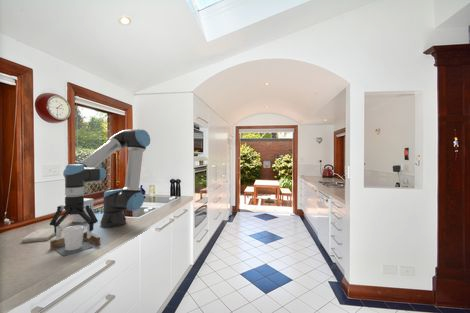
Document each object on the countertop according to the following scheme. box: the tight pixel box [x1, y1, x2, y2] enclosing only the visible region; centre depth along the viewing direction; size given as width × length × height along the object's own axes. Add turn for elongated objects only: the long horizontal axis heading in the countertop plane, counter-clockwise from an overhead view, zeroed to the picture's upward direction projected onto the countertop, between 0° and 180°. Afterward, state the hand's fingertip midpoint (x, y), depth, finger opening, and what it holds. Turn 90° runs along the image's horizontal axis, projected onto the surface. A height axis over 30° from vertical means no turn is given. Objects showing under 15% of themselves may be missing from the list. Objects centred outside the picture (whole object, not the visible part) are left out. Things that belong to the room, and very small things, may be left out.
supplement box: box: [71, 197, 94, 223], centre depth 151 cm, size 9×9×15 cm
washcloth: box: [20, 226, 63, 244], centre depth 121 cm, size 12×18×3 cm, turn 19°
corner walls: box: [49, 231, 101, 250], centre depth 107 cm, size 16×14×4 cm
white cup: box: [63, 224, 85, 251], centre depth 105 cm, size 8×8×10 cm
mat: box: [54, 240, 93, 257], centre depth 105 cm, size 12×12×1 cm
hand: (74, 238), depth 105 cm, fingers open, 13 cm apart
